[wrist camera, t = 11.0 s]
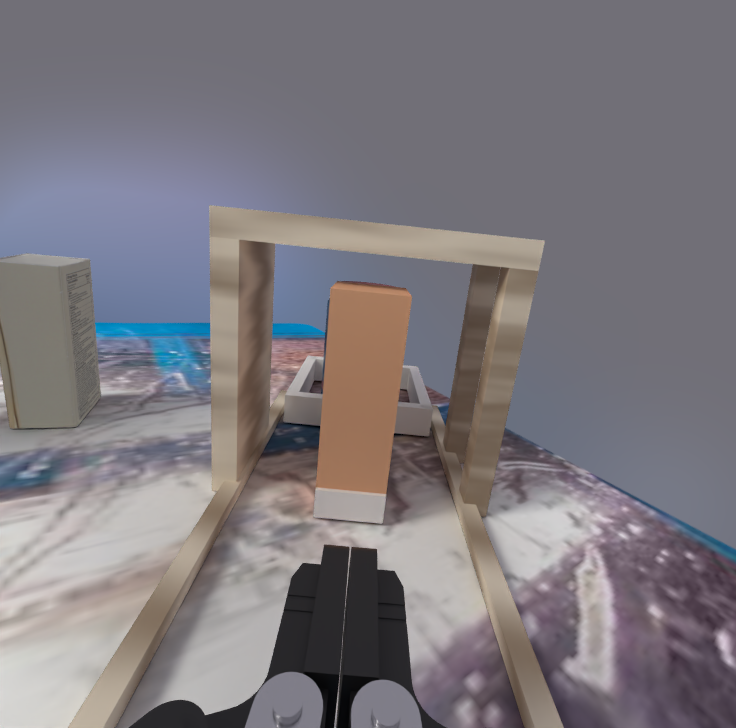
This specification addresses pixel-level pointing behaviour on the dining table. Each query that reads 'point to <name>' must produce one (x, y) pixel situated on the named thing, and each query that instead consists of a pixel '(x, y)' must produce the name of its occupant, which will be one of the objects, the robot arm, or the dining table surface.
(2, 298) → the skincare box
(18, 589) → the dining table surface
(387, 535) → the dining table surface
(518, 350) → the tunnel rail
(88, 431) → the dining table surface
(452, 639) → the dining table surface
